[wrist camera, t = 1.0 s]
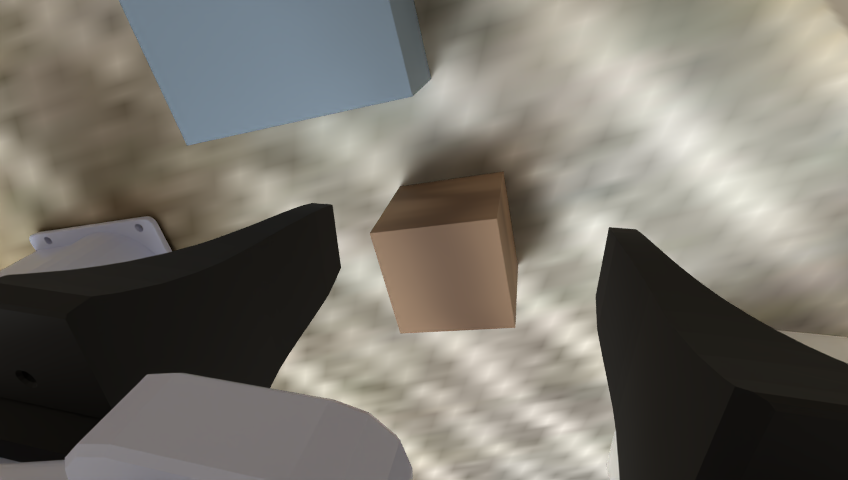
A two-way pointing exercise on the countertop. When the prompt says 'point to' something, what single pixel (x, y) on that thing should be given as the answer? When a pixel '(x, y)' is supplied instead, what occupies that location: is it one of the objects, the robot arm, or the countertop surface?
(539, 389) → the countertop surface
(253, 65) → the slate block
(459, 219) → the walnut cube
